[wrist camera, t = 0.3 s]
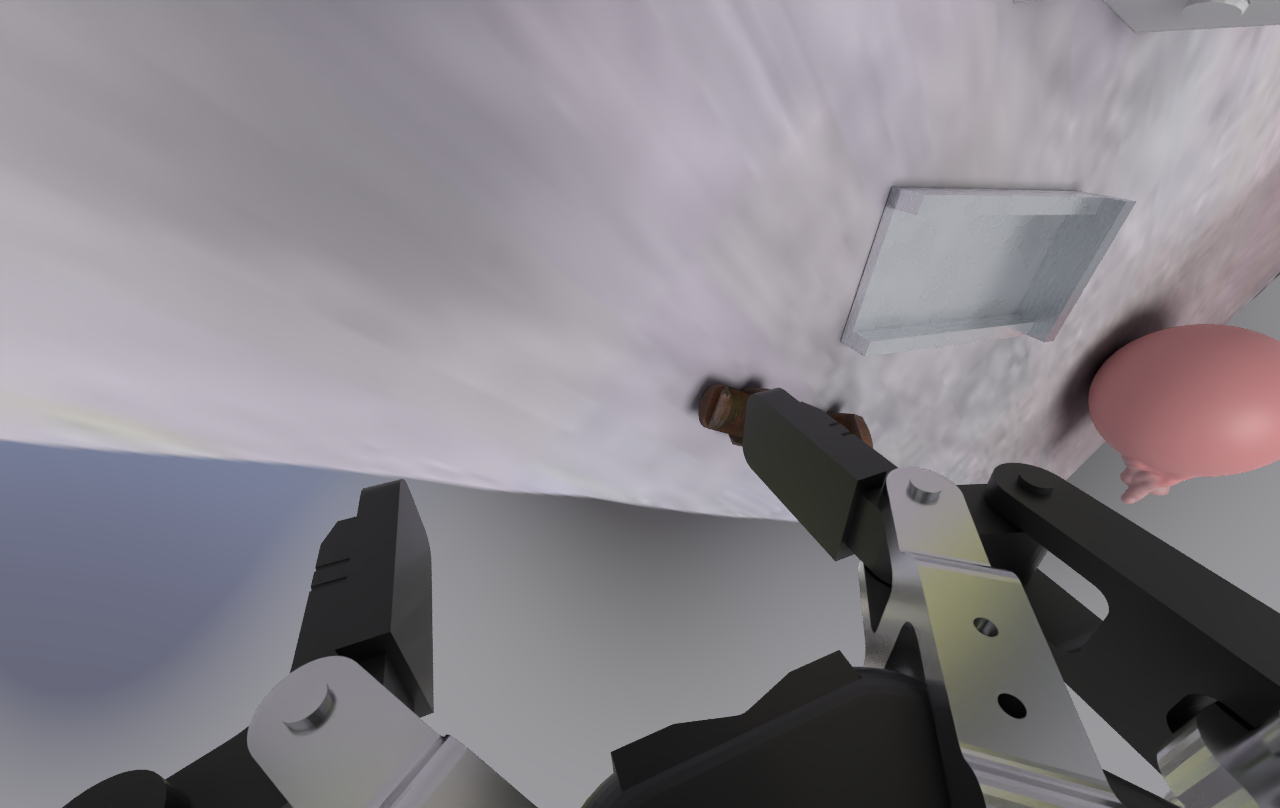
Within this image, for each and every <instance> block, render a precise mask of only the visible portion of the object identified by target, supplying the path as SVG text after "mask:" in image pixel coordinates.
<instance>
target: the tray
mask: <svg viewBox="0 0 1280 808" xmlns="http://www.w3.org/2000/svg"><path fill="white" fill-rule="evenodd" d="M1135 203H1136V201H1131V200H1125V199H1120V198H1114V197H1108V196H1103V195H1097V194H1092V193H1086V192H1080V191H1057V190H1012V189H966V188H921V187H892V188H891V192H890V195H889V198H888V201H887V204H886V207H885V210H884V213H883V216H882V219H881V222H880V225H879V228H878V231H877V234H876V237H875V240H874V243H873V246H872V249H871V252H870V255H869V258H868V261H867V264H866V267H865V270H864V273H863V276H862V279H861V282H860V285H859V288H858V291H857V294H856V297H855V300H854V303H853V306H852V309H851V312H850V315H849V318H848V321H847V324H846V327H845V330H844V333H843V336H842V339H841V342H843V343H844V344H846V345H847V346H849V347H851V348H852V349H854V350H855V351H857V352H858V353H860V354H862V355H863V356H865V357H866V356H873V355H881V354H888V353H896V352H903V351H911V350H919V349H926V348H934V347H941V346H949V345H956V344H964V343H971V342H979V341H986V340H994V339H1001V338H1009V337H1017V336H1024V335H1029V336H1031V337H1033V338H1036V339H1038V340H1040V341H1043V342H1048V341H1053V340H1054V339H1055V337H1056V335H1057V334H1058V332H1059V330H1060V329H1061V327H1062V325H1063V324H1064V322H1065V320H1066V319H1067V317H1068V315H1069V314H1070V312H1071V310H1072V309H1073V307H1074V305H1075V304H1076V302H1077V300H1078V299H1079V297H1080V295H1081V293H1082V292H1083V290H1084V288H1085V287H1086V285H1087V283H1088V282H1089V280H1090V278H1091V277H1092V275H1093V273H1094V272H1095V270H1096V268H1097V267H1098V265H1099V263H1100V262H1101V260H1102V258H1103V257H1104V255H1105V253H1106V252H1107V250H1108V248H1109V247H1110V245H1111V243H1112V242H1113V240H1114V238H1115V237H1116V235H1117V233H1118V231H1119V230H1120V228H1121V226H1122V225H1123V223H1124V221H1125V220H1126V218H1127V216H1128V215H1129V213H1130V211H1131V210H1132V208H1133V206H1134V205H1135Z"/></svg>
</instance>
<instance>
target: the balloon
mask: <svg viewBox="0 0 1280 808" xmlns="http://www.w3.org/2000/svg"><path fill="white" fill-rule="evenodd" d="M1088 405H1089V412H1090V416H1091V419H1092V421H1093V423H1094V425H1095V427H1096V429H1097V430H1098V432H1099V433H1100V435H1101V436H1102V437H1103V438H1104V440H1105V441H1106V442H1107V443H1108V444H1109V445H1111V446H1112V447H1113V448H1114V449H1115V450H1117V451H1118V452H1120V453H1121V454H1122V459H1123V461H1124V463H1125V465H1126V466H1127V467H1126V469H1125V470H1124V471H1123V472H1122V473H1121V475H1120V478H1121V480H1122V481H1123V482H1124V483H1125V484H1127V485H1128V487H1129V488H1128V489H1127V490H1126V491H1125V493H1124V494H1123V495H1122V496H1121V500H1122V502H1124V503H1126V504H1132V503H1134V502H1136V501H1138V500H1140V499H1142V498H1143V497H1144V496H1145V495H1147V494H1148V493H1149V494H1152V495H1166V494H1167V493H1168V492H1169V490H1170V486H1172V485H1175V484H1177V483H1179V482H1182V481H1184V480H1187V479H1191V478H1194V477H1198V476H1199V477H1213V476H1225V475H1232V474H1237V473H1243V472H1247V471H1251V470H1254V469H1257V468H1260V467H1263V466H1266V465H1268V464H1270V463H1273V462H1275V461H1277V460H1279V459H1280V342H1279V341H1278V340H1276V339H1274V338H1271V337H1269V336H1267V335H1264V334H1261V333H1259V332H1255V331H1252V330H1248V329H1244V328H1239V327H1234V326H1226V325H1215V324H1197V325H1185V326H1178V327H1172V328H1168V329H1163V330H1160V331H1156V332H1153V333H1150V334H1147V335H1145V336H1142V337H1140V338H1138V339H1136V340H1134V341H1132V342H1130V343H1128V344H1126V345H1125V346H1123V347H1122V348H1120V349H1119V350H1117V351H1116V352H1115V353H1114V354H1112V355H1111V356H1110V357H1109V358H1108V359H1107V360H1106V361H1105V362H1104V363H1103V364H1102V366H1101V367H1100V368H1099V370H1098V371H1097V373H1096V375H1095V376H1094V378H1093V381H1092V383H1091V386H1090V390H1089V397H1088Z"/></svg>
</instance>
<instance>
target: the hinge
mask: <svg viewBox="0 0 1280 808" xmlns="http://www.w3.org/2000/svg"><path fill="white" fill-rule="evenodd" d="M1029 1H1038V0H1013V3H1021V2H1029ZM1103 1H1104V2H1105V3H1106V4H1107V5H1108V6H1109V7H1110V8H1111V9H1112V10H1113V11H1114V12H1115V13H1116V14H1117V15H1118V16H1119V17H1120V18H1121V19H1122V20H1123V21H1124V22H1125V23H1126V24H1127V25H1128V26H1129V27H1130V28H1131V29H1132V30H1133V31H1134V32H1135V33H1141V32H1159V31H1176V30H1194V29H1211V28H1229V27H1246V26H1264V25H1280V0H1103Z"/></svg>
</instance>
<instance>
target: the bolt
mask: <svg viewBox="0 0 1280 808" xmlns="http://www.w3.org/2000/svg"><path fill="white" fill-rule="evenodd" d="M767 390H770V389H764V388H745V389H744V390H743V391H739V390H736V389H733V388H730V387H727V386H725V385H722V384H716V385H713V386H711V387H710V388H709V389H708V390H707V391H706V392H705V394H704V395H703V397H702V399H701V401H700V404H699V420H700V423H701V425H703V426H704V427H706V428H709V429H713V430H717V431H720V432H723V433H728V434H729V437H730V439H731V441H732V444H734V445H738V446H742V447H743V435H744V425H745V415H746V405H747V400H748V397H749V396H750V395H751V394H754V393H758V392H763V391H767ZM826 413H827V414H828V415H829V416H830V417H832V418H833V419H834V420H836V421H837V422H838V425H840V424H841V425H842V426H844V427H845V428H846V429H848V430H849V431H850V433H851V434H854V435H856V436H857V437H858V438H859V439H861V440H862V441H863V442H865V443H866V444H867V445H869V446H870V447H871V448H873V443H872V438H871V435H870V432H869V429H868V427H867V425H866V423H865V421H864V419H863V418H862V417H861V416H858V415H855V414H846V413H832V412H826Z"/></svg>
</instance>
